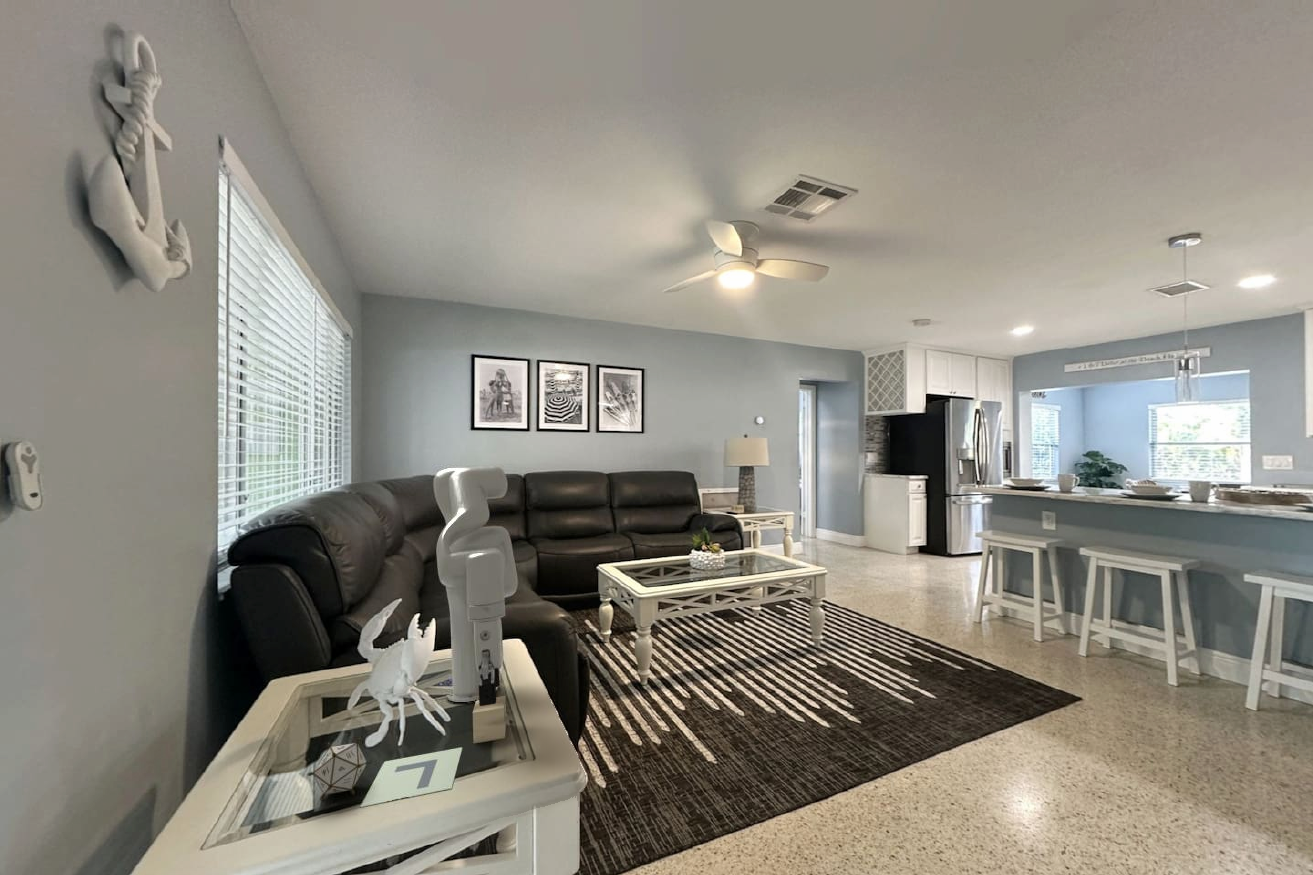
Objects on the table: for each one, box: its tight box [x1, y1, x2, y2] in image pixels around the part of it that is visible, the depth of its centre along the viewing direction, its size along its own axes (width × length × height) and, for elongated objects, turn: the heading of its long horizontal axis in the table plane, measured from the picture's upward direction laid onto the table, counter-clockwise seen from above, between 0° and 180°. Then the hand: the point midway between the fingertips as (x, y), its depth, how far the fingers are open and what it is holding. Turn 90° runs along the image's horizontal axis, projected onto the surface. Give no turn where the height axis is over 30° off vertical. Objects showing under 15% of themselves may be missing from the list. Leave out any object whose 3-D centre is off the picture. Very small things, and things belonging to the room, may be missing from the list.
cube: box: [472, 695, 507, 744], centre depth 104 cm, size 6×6×6 cm
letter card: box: [359, 747, 463, 808], centre depth 90 cm, size 14×14×1 cm
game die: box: [306, 737, 373, 801], centre depth 86 cm, size 9×8×10 cm
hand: (490, 695), depth 103 cm, fingers open, 9 cm apart
